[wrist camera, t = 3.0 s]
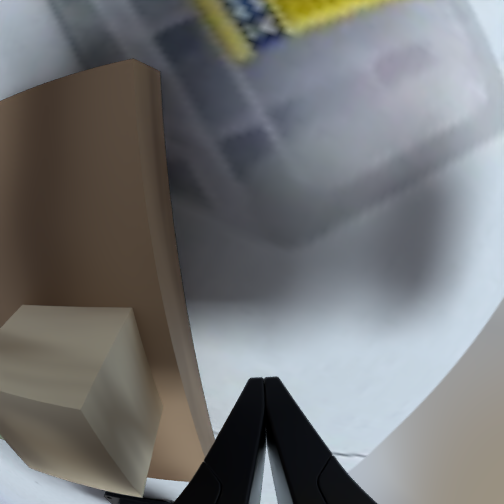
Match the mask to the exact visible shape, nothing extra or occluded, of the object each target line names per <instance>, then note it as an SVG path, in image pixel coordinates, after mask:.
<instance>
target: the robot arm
mask: <svg viewBox="0 0 504 504" xmlns="http://www.w3.org/2000/svg"><path fill="white" fill-rule="evenodd" d="M266 440H267V449H268V455H269V460H270V465H271V470H272V476H273V481H274V486H275V491H276V496H277V501H278V504H377V503H376V502H375V501H374V500H373V499H372V498H371V497H370V496H369V495H368V494H367V493H365V491H364V490H363V489H361V487H359V485H358V484H357V483H356V482H355V481H354V480H353V479H352V478H351V477H350V476H349V475H348V473H347V472H346V471H345V470H344V468H343V467H342V466H341V465H340V463H339V462H338V461H337V459H336V458H335V456H332V453H331V451H330V450H329V448H328V447H327V446H326V444H325V443H324V442H323V440H322V439H321V437H320V436H319V435H318V433H317V432H316V430H315V429H314V428H313V426H312V425H311V423H310V422H309V420H308V419H307V418H306V416H305V415H304V413H303V412H302V411H301V409H300V408H299V406H298V405H297V403H296V402H295V400H294V399H293V398H292V396H291V395H290V393H289V392H288V390H287V389H286V387H285V386H284V384H283V383H282V381H281V380H280V379H279V378H278V377H265V378H264V379H263V378H262V377H256V378H250V379H249V380H248V382H247V383H246V385H245V387H244V389H243V391H242V393H241V395H240V396H239V398H238V400H237V402H236V404H235V406H234V407H233V409H232V411H231V413H230V415H229V416H228V418H227V420H226V422H225V424H224V425H223V427H222V429H221V431H220V432H219V434H218V436H217V438H216V439H215V441H214V443H213V445H212V446H211V448H210V450H209V452H208V453H207V455H206V457H205V458H204V462H202V463H201V465H200V467H199V468H198V470H197V472H196V473H195V475H194V476H193V478H192V479H191V481H190V482H189V484H188V485H187V487H186V488H185V489H184V490H183V492H182V493H181V494H180V495H179V497H178V498H177V499H176V500H175V501H174V503H170V502H163V501H156V500H149V499H142V498H136V497H131V496H125V495H120V494H115V493H110V492H105V494H104V497H105V498H106V499H107V500H108V501H109V502H110V503H111V504H260V498H261V490H262V481H263V472H264V463H265V453H266Z"/></svg>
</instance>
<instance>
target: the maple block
mask: <svg viewBox="0 0 504 504" xmlns="http://www.w3.org/2000/svg"><path fill="white" fill-rule="evenodd" d="M162 411H163V404H162V401H161V399H160V396H159V393H158V390H157V387H156V384H155V381H154V379H153V376H152V373H151V369H150V366H149V363H148V360H147V357H146V354H145V351H144V347H143V344H142V341H141V337H140V334H139V330H138V327H137V323H136V320H135V316H134V312H133V308H117V307H66V306H39V305H22V306H21V307H20V308H19V309H18V310H17V311H16V312H15V313H14V314H13V315H12V316H11V317H10V318H9V319H8V321H7V322H6V323H5V324H4V325H3V326H2V327H1V328H0V435H1V436H2V437H3V439H4V440H5V441H6V442H7V443H8V444H9V446H10V447H11V448H12V449H13V450H14V451H15V452H16V454H17V455H18V456H19V457H20V458H21V459H22V460H23V461H24V462H25V463H26V464H27V465H28V467H29V468H31V469H34V470H37V471H40V472H42V473H45V474H48V475H51V476H54V477H57V478H60V479H64V480H67V481H70V482H74V483H77V484H81V485H85V486H89V487H92V488H97V489H101V490H105V491H110V492H114V493H119V494H124V495H129V496H135V497H141V498H143V493H144V489H145V484H146V479H147V475H148V470H149V466H150V461H151V457H152V453H153V448H154V444H155V440H156V436H157V431H158V427H159V423H160V419H161V415H162Z"/></svg>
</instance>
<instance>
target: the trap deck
mask: <svg viewBox="0 0 504 504" xmlns="http://www.w3.org/2000/svg"><path fill="white" fill-rule="evenodd" d="M22 305H39V306H66V307H117V308H133V312H134V316H135V320H136V323H137V327H138V330H139V334H140V337H141V341H142V344H143V347H144V351H145V354H146V357H147V360H148V363H149V366H150V369H151V373H152V376H153V379H154V381H155V384H156V387H157V390H158V393H159V396H160V399H161V401H162V404H163V411H162V415H161V419H160V423H159V427H158V431H157V436H156V440H155V444H154V448H153V453H152V457H151V461H150V466H149V470H148V475H147V477H148V478H156V479H164V480H174V481H186V482H190V481H191V479H192V478H193V476H194V475H195V473H196V472H197V470H198V468H199V467H200V465H201V463H202V462H204V458H205V457H206V455H207V453H208V452H209V450H210V448H211V446H212V445H213V443H214V441H215V439H214V435H213V431H212V427H211V423H210V419H209V414H208V410H207V406H206V402H205V397H204V393H203V388H202V384H201V379H200V374H199V370H198V365H197V360H196V355H195V350H194V345H193V340H192V335H191V329H190V324H189V319H188V313H187V307H186V302H185V296H184V290H183V284H182V278H181V271H180V265H179V258H178V251H177V244H176V237H175V230H174V222H173V215H172V206H171V198H170V189H169V180H168V171H167V161H166V150H165V139H164V126H163V113H162V97H161V79H160V71H158V70H156V69H154V68H152V67H150V66H148V65H146V64H144V63H142V62H140V61H138V60H135V59H129V60H124V61H120V62H115V63H111V64H107V65H103V66H99V67H96V68H92V69H88V70H85V71H81V72H78V73H74V74H71V75H68V76H65V77H62V78H59V79H56V80H53V81H50V82H47V83H44V84H41V85H39V86H36V87H33V88H31V89H28V90H26V91H23V92H20V93H18V94H16V95H13V96H11V97H8V98H6V99H4V100H2V101H0V328H1V327H2V326H3V325H4V324H5V323H6V322H7V321H8V319H9V318H10V317H11V316H12V315H13V314H14V313H15V312H16V311H17V310H18V309H19V308H20V307H21V306H22ZM0 439H3V437H2V436H1V435H0ZM3 440H4V439H3Z"/></svg>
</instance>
